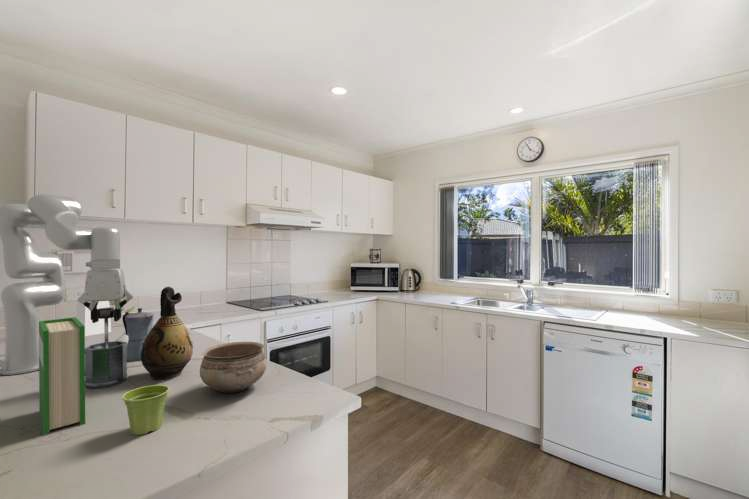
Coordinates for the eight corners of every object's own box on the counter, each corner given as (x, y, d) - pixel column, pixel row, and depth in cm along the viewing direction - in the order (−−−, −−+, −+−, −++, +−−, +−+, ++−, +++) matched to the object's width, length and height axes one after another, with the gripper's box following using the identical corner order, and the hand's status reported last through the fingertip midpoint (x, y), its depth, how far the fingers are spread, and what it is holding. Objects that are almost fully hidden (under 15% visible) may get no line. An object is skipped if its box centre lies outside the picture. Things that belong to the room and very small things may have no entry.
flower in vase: (141, 340, 168) (140, 288, 168) (146, 344, 160) (146, 290, 160) (107, 345, 159) (106, 290, 159) (111, 350, 151) (111, 292, 151)
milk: (111, 331, 188) (110, 283, 188) (84, 336, 178) (84, 285, 178) (101, 329, 194) (101, 282, 194) (75, 333, 185) (75, 284, 185)
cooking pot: (281, 393, 103) (280, 351, 103) (213, 412, 91) (212, 365, 91) (250, 371, 122) (249, 336, 123) (190, 385, 110) (190, 346, 110)
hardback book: (85, 423, 86) (84, 325, 86) (43, 435, 81) (43, 331, 81) (75, 402, 98) (75, 317, 98) (39, 411, 93) (38, 321, 93)
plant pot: (137, 420, 87) (137, 385, 88) (176, 418, 88) (176, 383, 88) (112, 440, 78) (112, 401, 78) (156, 437, 79) (156, 399, 79)
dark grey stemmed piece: (88, 357, 109) (88, 310, 109) (97, 351, 116) (97, 307, 116) (116, 354, 112) (115, 309, 112) (123, 348, 118) (122, 306, 118)
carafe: (68, 392, 106) (67, 352, 106) (83, 379, 116) (83, 343, 116) (121, 385, 110) (121, 347, 110) (131, 374, 121) (131, 339, 121)
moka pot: (143, 363, 133) (143, 310, 133) (110, 360, 136) (109, 309, 137) (163, 355, 143) (163, 306, 143) (131, 353, 146) (131, 305, 146)
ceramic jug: (200, 374, 120) (199, 286, 121) (148, 387, 109) (147, 291, 109) (182, 363, 132) (182, 284, 132) (134, 374, 121) (133, 287, 121)
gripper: (67, 266, 107) (68, 325, 107) (133, 265, 113) (133, 321, 113) (78, 265, 114) (79, 321, 114) (139, 264, 120) (140, 317, 120)
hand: (106, 320), depth 114 cm, fingers open, 5 cm apart
